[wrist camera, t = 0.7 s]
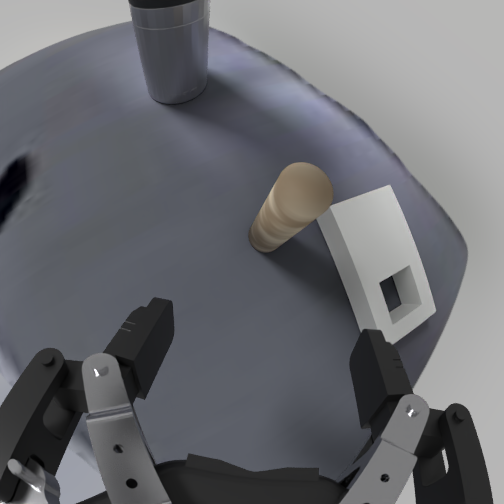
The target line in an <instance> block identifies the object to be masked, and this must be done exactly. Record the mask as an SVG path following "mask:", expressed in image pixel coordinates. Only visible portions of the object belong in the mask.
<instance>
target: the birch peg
mask: <svg viewBox="0 0 504 504" xmlns="http://www.w3.org/2000/svg"><path fill="white" fill-rule="evenodd" d="M332 200H333V187H332V184H331V182H330V180H329V178H328V176H327V175H326V174H325V173H324V172H323V171H322V170H321V169H320V168H318V167H316V166H315V165H312V164H309V163H304V162H298V163H293V164H291V165H289V166H287V167H286V168H285V169H284V170H283V171H282V172H281V174H280V175H279V177H278V179H277V181H276V183H275V184H274V186H273V188H272V190H271V192H270V193H269V195H268V197H267V199H266V200H265V202H264V204H263V206H262V208H261V209H260V211H259V213H258V215H257V217H256V219H255V220H254V222H253V224H252V226H251V228H250V230H249V235H248V236H249V241H250V243H251V245H252V246H253V247H254V248H255V249H256V250H258V251H260V252H264V253H267V252H272V251H274V250H275V249H277V248H278V247H279V246H281V245H282V244H283V243H285V242H286V241H287V240H289V239H290V238H291V237H293V236H294V235H295V234H297V233H298V232H299V231H301V230H302V229H303V228H305V227H306V226H307V225H309V224H310V223H311V222H312V221H314V220H315V219H316V218H318V217H319V216H320V215H322V214H323V213H324V212H326V211H327V210H328V208H329V207H330V205H331V203H332Z"/></svg>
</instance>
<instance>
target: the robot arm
mask: <svg viewBox="0 0 504 504" xmlns="http://www.w3.org/2000/svg"><path fill="white" fill-rule="evenodd" d="M129 6H130V11H131V16H132V21H133V26H134V31H135V36H136V41H137V45H138V50H139V54H140V59H141V63H142V67H143V72H144V76H145V80H146V84H147V88H148V92H149V94H150V96H151V97H152V98H153V99H154V100H156V101H158V102H161V103H165V104H177V103H182V102H186V101H189V100H191V99H193V98H195V97H197V96H198V95H199V94H200V93H201V92H202V91H203V90H204V89H205V87H206V84H207V65H208V36H209V15H210V14H209V12H210V0H129ZM173 336H174V317H173V303H172V301H171V300H166V299H161V298H156V297H154V298H153V299H152V300H151V302H150V303H149V305H148V306H147V307H142V306H141V307H139V308H138V309H136V310H134V311H133V312H131V314H130V315H129V317H128V318H127V319H126V322H124V323H123V325H122V326H121V329H119V330H118V332H117V333H116V335H115V336H114V337H113V339H112V340H111V342H110V343H109V345H108V346H107V347H106V349H105V350H104V352H103V353H97V354H93V355H91V356H89V357H88V358H87V359H86V360H85V361H72V360H65V359H64V357H63V355H62V353H61V352H60V351H59V350H57V349H54V348H46V349H43V350H41V351H39V352H38V353H37V354H36V355H35V356H34V358H33V359H32V361H31V362H30V363H29V365H28V366H27V367H26V369H25V370H24V372H23V373H22V375H21V376H20V377H19V379H18V380H17V382H16V383H15V385H14V386H13V388H12V389H11V391H10V392H9V394H8V395H7V397H6V399H5V400H4V402H3V403H2V405H1V407H0V504H60V502H59V497H60V487H59V483H58V481H57V480H56V478H55V475H56V472H57V470H58V467H59V465H60V462H61V460H62V458H63V455H64V453H65V450H66V448H67V446H68V444H69V441H70V439H71V437H72V435H73V433H74V430H75V428H76V426H77V424H78V422H79V420H80V418H81V416H82V414H83V412H84V413H89V416H87V417H86V421H87V426H88V431H89V435H90V439H91V443H92V447H93V450H94V454H95V457H96V461H97V464H98V467H99V471H100V474H101V476H102V480H103V482H104V485H105V488H106V491H104V492H103V493H100V494H98V495H96V496H93V497H91V498H89V499H86V500H84V501H81V502H79V503H76V504H395V502H396V501H397V499H398V497H399V495H400V493H401V492H402V490H403V488H404V486H405V484H406V482H407V480H408V478H409V476H410V474H411V472H412V471H413V478H414V487H415V497H416V504H493V498H492V492H491V487H490V482H489V477H488V472H487V468H486V465H485V460H484V456H483V453H482V449H481V446H480V442H479V439H478V436H477V432H476V429H475V427H474V423H473V421H472V418H471V415H470V413H469V411H468V409H467V408H466V407H464V406H463V405H461V404H457V403H454V404H451V405H450V406H449V407H448V408H447V409H446V410H445V411H442V410H436V409H431V408H429V406H428V404H427V403H426V401H425V400H424V399H423V398H421V397H420V396H418V395H415V394H414V393H413V391H412V388H411V385H410V382H409V380H408V377H407V374H406V372H405V369H404V368H403V367H404V366H403V364H402V361H400V356H399V354H398V351H397V350H396V348H395V347H394V346H393V345H392V344H391V343H390V342H386V340H385V337H384V335H383V333H382V331H381V330H377V329H363V330H362V332H361V334H360V336H359V339H358V341H357V343H356V345H355V347H354V349H353V352H352V354H351V357H350V371H351V376H352V381H353V386H354V391H355V397H356V402H357V407H358V413H359V419H360V425H361V429H364V428H371V432H372V433H371V434H370V435H369V437H368V438H367V440H366V441H365V443H364V444H363V446H362V447H361V449H360V450H359V452H358V453H357V455H356V456H355V458H354V459H353V460H352V462H351V463H350V465H349V466H348V467H347V468H346V470H345V471H344V472H343V473H342V474H341V475H340V476H339V477H338V478H337V479H336V480H335V481H334V480H332V479H330V478H327V477H324V476H321V475H319V468H288V467H287V468H281V469H275V470H268V471H259V472H252V471H248V470H246V469H243V468H240V467H237V466H235V465H232V464H229V463H227V462H224V461H222V460H218V459H212V458H207V457H202V456H198V455H193V454H189V453H188V457H187V460H173V461H168V462H164V463H160V464H157V463H156V461H155V459H154V457H153V454H152V452H151V450H150V448H149V446H148V444H147V441H146V439H145V436H144V434H143V431H142V429H141V426H140V423H139V421H138V418H137V415H136V412H135V409H134V407H133V403H134V401H135V398H136V397H138V398H141V399H144V400H145V399H146V396H147V394H148V392H149V390H150V388H151V385H152V383H153V381H154V379H155V377H156V375H157V372H158V370H159V368H160V366H161V364H162V362H163V360H164V357H165V355H166V353H167V351H168V349H169V347H170V345H171V343H172V340H173ZM444 449H445V451H446V456H447V460H448V465H449V468H448V472H447V474H446V470H445V465H444V460H443V455H442V450H444Z"/></svg>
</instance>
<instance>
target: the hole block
mask: <svg viewBox="0 0 504 504" xmlns="http://www.w3.org/2000/svg"><path fill="white" fill-rule="evenodd" d="M316 219H317V222H318V224H319V226H320V229H321V231H322V233H323V236H324V238H325V240H326V243H327V245H328V247H329V250H330V252H331V255H332V257H333V260H334V262H335V265H336V267H337V270H338V272H339V275H340V277H341V280H342V282H343V285H344V288H345V290H346V293H347V295H348V298H349V301H350V304H351V306H352V309H353V312H354V315H355V317H356V320H357V323H358V326H359V329H360V332H362V330H363V329H377V330H381V331H382V333H383V335H384V337H385V340H386V342H390V343H391V344H392V345H393V344H394V343H395V342H397V341H398V340H400V339H401V338H402V337H404V336H405V335H407V334H408V333H409V332H411V331H412V330H413V329H415V328H416V327H417V326H419V325H420V324H421V323H422V322H424V321H425V320H426V319H428V318H429V317H430V316H431V315H433V314H434V313H435V312H436V309H435V305H434V301H433V297H432V294H431V290H430V287H429V284H428V280H427V277H426V274H425V271H424V268H423V265H422V262H421V259H420V256H419V253H418V250H417V248H416V245H415V242H414V240H413V237H412V234H411V232H410V229H409V227H408V224H407V222H406V220H405V217H404V215H403V212H402V210H401V208H400V206H399V203H398V201H397V199H396V197H395V195H394V192H393V190H392V188H391V186H390V185H388V186H385V187H382V188H379V189H376V190H373V191H370V192H368V193H365V194H362V195H359V196H356V197H353V198H351V199H348V200H345V201H342V202H339V203H337V204H334V205H331V206H330V207H329V208H328V210H327V211H326V212H324V213H323V214H322V215H320V216H319V217H318V218H316ZM390 276H392V277H393V280H394V283H395V286H396V289H397V292H398V295H399V298H400V301H401V305H400V306H398V307H397V308H395V309H394V310H392V311H391V312H389V311H388V308H387V305H386V302H385V299H384V296H383V293H382V290H381V287H380V285H379V283H380V282H381V281H383V280H385V279H387V278H388V277H390Z"/></svg>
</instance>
